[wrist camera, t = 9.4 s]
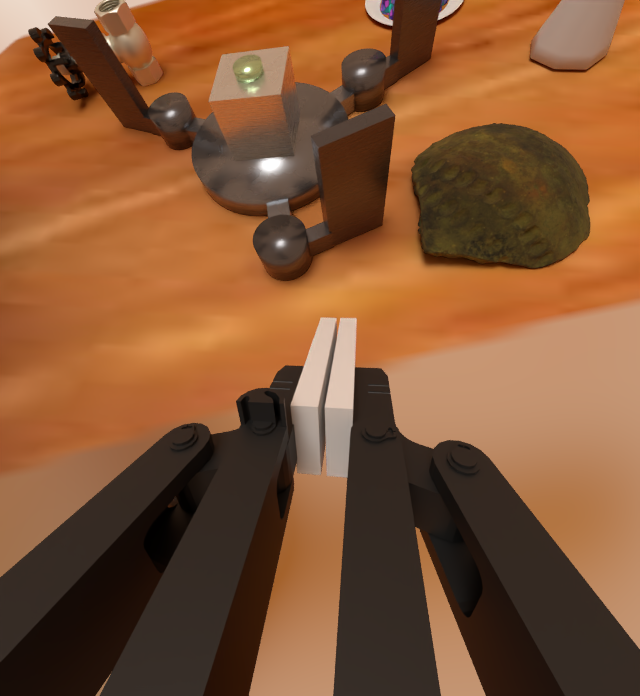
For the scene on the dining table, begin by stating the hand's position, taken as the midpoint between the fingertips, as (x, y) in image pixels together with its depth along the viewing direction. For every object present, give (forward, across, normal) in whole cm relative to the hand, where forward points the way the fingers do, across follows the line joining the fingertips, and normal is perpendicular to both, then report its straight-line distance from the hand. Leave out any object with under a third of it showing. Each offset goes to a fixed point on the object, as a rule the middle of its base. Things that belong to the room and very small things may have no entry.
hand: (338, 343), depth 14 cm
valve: (+34, -31, +21) cm, 50 cm away
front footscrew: (+14, -2, +3) cm, 15 cm away
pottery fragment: (+17, +12, +5) cm, 21 cm away
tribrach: (+24, -10, +12) cm, 28 cm away
